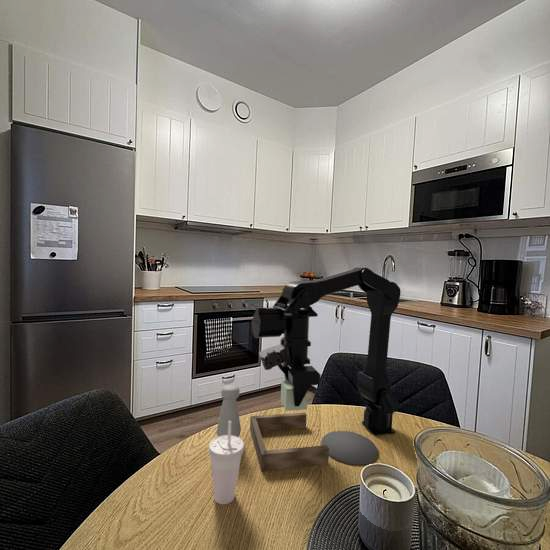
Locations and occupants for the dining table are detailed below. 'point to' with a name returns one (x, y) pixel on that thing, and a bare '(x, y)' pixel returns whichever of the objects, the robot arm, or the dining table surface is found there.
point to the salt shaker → (229, 412)
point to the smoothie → (225, 465)
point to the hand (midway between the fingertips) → (293, 400)
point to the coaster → (350, 447)
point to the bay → (284, 456)
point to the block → (290, 398)
